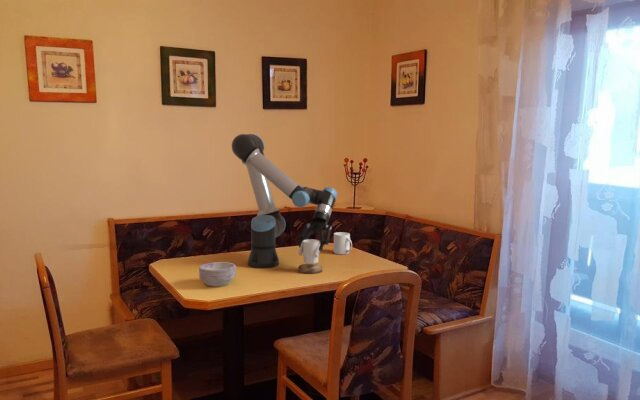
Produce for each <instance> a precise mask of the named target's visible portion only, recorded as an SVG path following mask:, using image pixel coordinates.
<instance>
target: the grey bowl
mask: <svg viewBox="0 0 640 400" xmlns="http://www.w3.org/2000/svg"><path fill="white" fill-rule="evenodd" d="M198 269H199V271H198V276H199V279H200V280H202V281H203V282H204V284H205V285H206V286H208V287H209V286H210V287H224V285H225V286H228V285H229V284H230V283H231V281H232V279H234V278H236V275H237V271H236V270H237V269H236V264H235V263H232V262H229V261H217V262H215V261H214V262H207V263H204V264H201V265H200V266H199V267H198Z"/></svg>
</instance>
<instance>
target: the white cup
mask: <svg viewBox="0 0 640 400" xmlns="http://www.w3.org/2000/svg"><path fill="white" fill-rule="evenodd" d="M319 243H321V242H320V240H319V239H312V238H310V239H309V238H308V239H307V240H303V253H302V255H303V263H304V264H318V263H319V256H320V255H319V256H318V258H317V257H316V256H315V252H316V249H317V246H318V244H319Z"/></svg>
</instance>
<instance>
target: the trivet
mask: <svg viewBox="0 0 640 400" xmlns="http://www.w3.org/2000/svg"><path fill="white" fill-rule="evenodd" d="M298 272H299V273H301V274H304V275H314V274H316V273H317V274H320V273H322V272H323V266H322V265H321V264H318V263H314V264H309V263H303V264H299V266H298Z"/></svg>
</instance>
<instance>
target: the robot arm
mask: <svg viewBox="0 0 640 400" xmlns="http://www.w3.org/2000/svg"><path fill="white" fill-rule="evenodd" d="M231 151H232V153H233V155H235V157H237V158H238V159H239V160H240V161H241V162H242V164H243V165H245V166H246V170H247V172H248V176H249V180H250V183H251V188H252V190H253V195H254V199H255V201H256V205H257V209H258V212H257V215H256V216H254V217H252V219H251V222H250V223H251V224H250V229H251V231H250V235H251V237H250V238H251V248H250V249H251V250H250V252H249V256H248V259H247V266H249V267H250V268H257V269H267V268H274V267H275V268H276V267H277V266H279V265H280V258H279V256H278V253H277V250H276V238H278V237H281V236H282V234H283V233H284V231H285V229H286V220H285V218H284V217H283V216H282V214H281V211H280V208H278V207H276V204H275V201H274V197H273V194H272V191H271V187H270V183H271V184H272V185H274V186H275V187H276V188H277V189H279V191H281V192H282V193H283V194H284V195H286V196H287V198H289V199H290V200H291V202H292V204H293V205H294V206H295V207H297V208H303V207H305V206H308V205H309V204H310V205H316V208H315V211H314V213H313V216H312V220H311V221H310V223H308V222H304V226H303V228H302V229H301V232H300V233H299V235H298V237H297V240H298V242H299V245H298V248H299V249H298V252H297V253H298V255H299V256H302V255H303V240H307V239H309V238H310V237H311V236H313V234H315V233H317V232H318V233H319V237H320V238H319V239H320V240H319V241H320V243H319V244H318V246H317V249H316V252H315V256H316V257H317V258H318V259H319V257H318V256H320V252H321V251H323V248H324V246H325V245H326V246H328V245H329V243H330V237H331V231H332V230H333V227H332V225H331V224H328V223H329V222H330V221H329V220H330V218H331V214H332V211H333V209H334V206H335V204H336V202H337V197H338V191H337V190H336V189H335V188H333V187H330V186H328V187H327V186H326V187H324V189H322V190H320V189H316V188H311V187H308V186H303V185H299V184H298V183H297V182H296V181H295V180H294V179H293V178H291V177H290V176H288V175H287V174H286V173H285V172H284V171H283V170H282V169H280V168H279V167H278V166H277V165H276V164H274V163H273V162H272V161H271V160H270V159H268V158H267V157H266V156H265V153H264V151H265V142H264V141H263V139H262V138H261V137H260V136H259V135H256V134H253V133H248V134H246V133H242V134H241V133H240V134H238V135H236V136H235V137H234V139H233V140H232V142H231ZM325 230H326V231H325ZM324 231H325V235H324Z"/></svg>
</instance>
